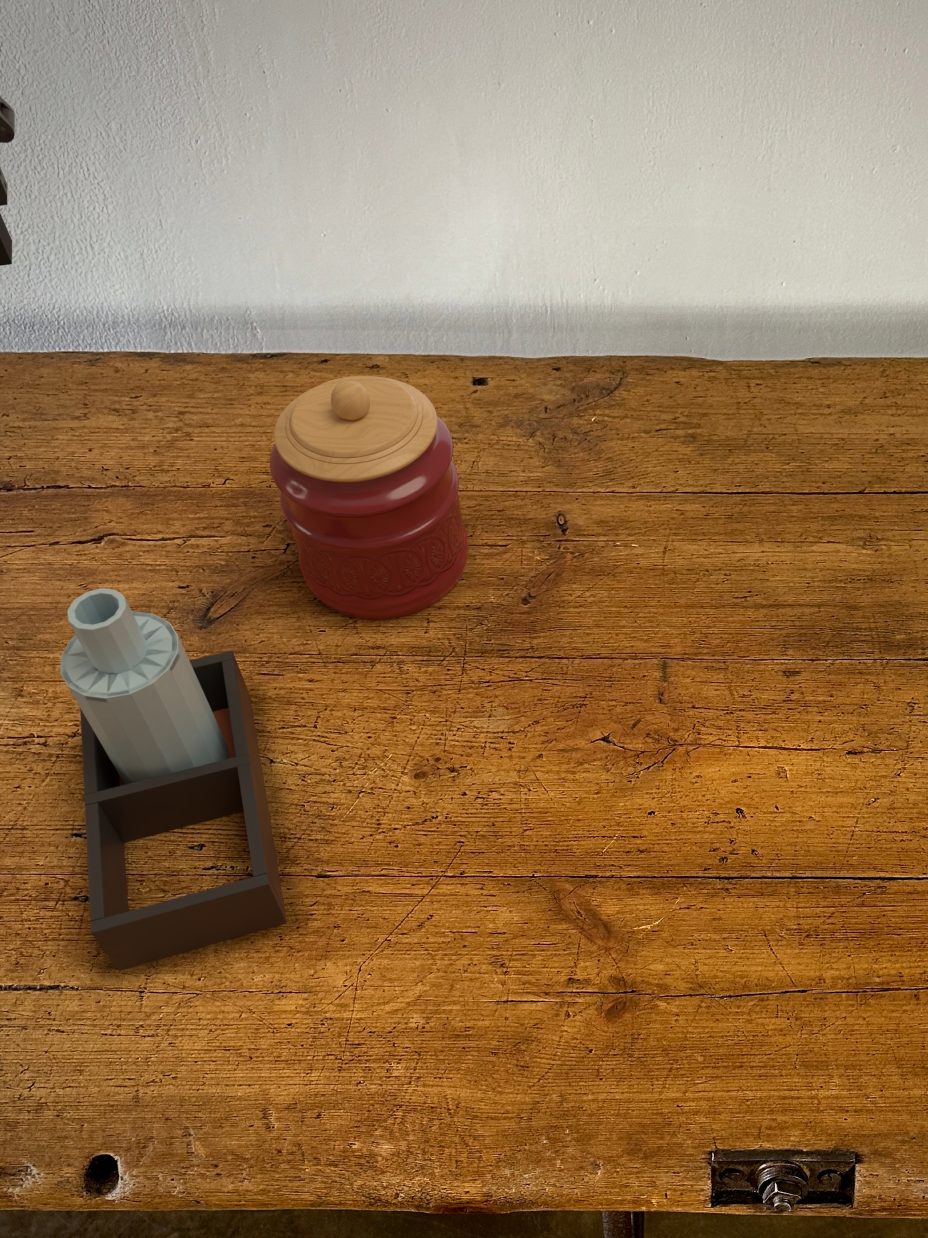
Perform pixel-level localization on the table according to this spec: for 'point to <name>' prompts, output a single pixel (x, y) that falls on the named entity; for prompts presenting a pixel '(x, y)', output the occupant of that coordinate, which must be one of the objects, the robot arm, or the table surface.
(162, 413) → the table surface
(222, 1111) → the table surface
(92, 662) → the water bottle
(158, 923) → the frame
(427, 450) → the kitchen canister
